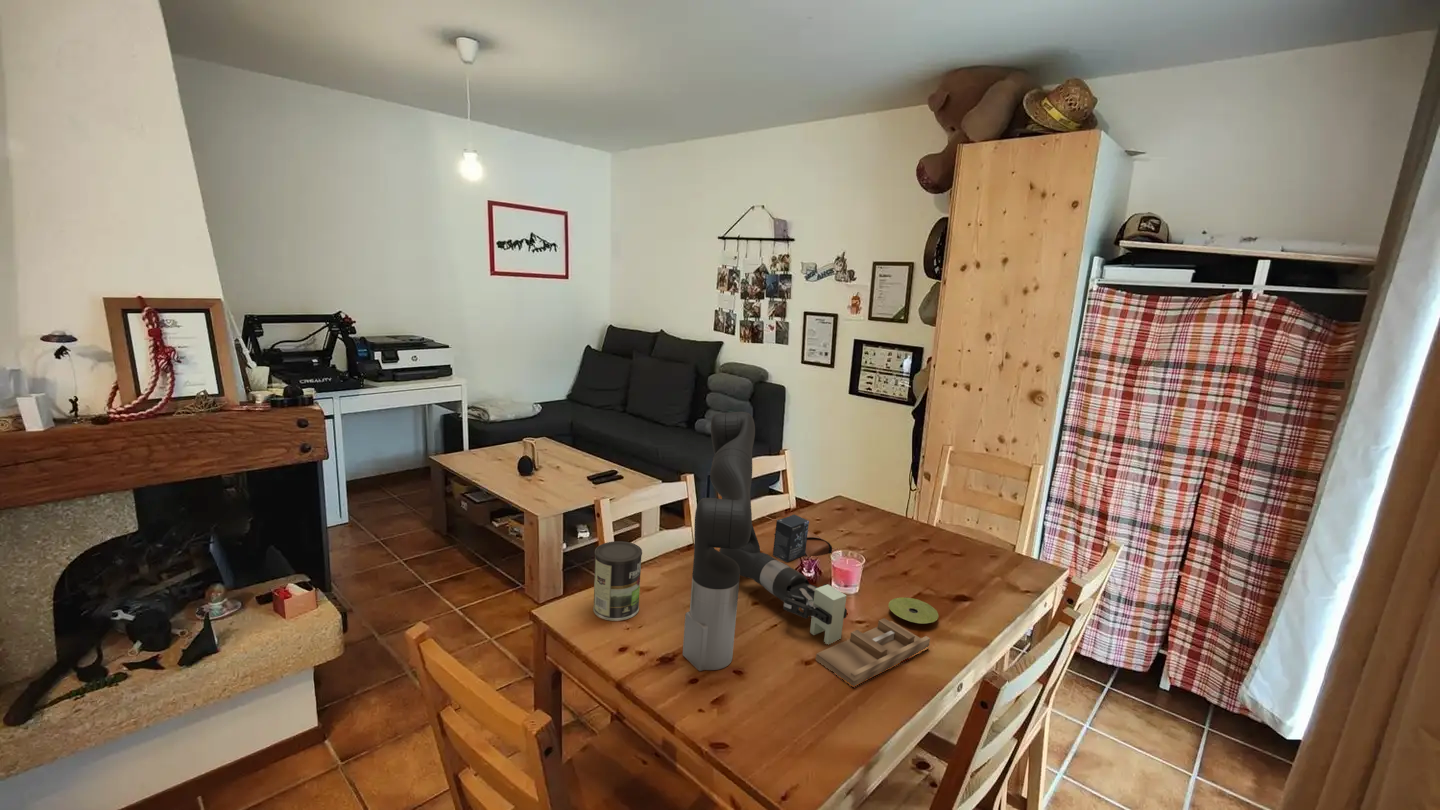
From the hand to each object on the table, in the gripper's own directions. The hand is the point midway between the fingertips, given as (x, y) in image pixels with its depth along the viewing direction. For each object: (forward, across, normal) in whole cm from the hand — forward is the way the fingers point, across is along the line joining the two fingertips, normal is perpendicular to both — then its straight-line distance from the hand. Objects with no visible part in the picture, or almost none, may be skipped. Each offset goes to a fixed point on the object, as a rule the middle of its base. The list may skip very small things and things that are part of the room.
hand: (837, 617), depth 129 cm
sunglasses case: (-40, +29, +7) cm, 50 cm away
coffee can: (-35, -34, +6) cm, 49 cm away
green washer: (+2, +24, +6) cm, 25 cm away
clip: (-3, 0, +6) cm, 7 cm away
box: (-36, +20, +6) cm, 41 cm away
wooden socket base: (+7, +4, +6) cm, 10 cm away
